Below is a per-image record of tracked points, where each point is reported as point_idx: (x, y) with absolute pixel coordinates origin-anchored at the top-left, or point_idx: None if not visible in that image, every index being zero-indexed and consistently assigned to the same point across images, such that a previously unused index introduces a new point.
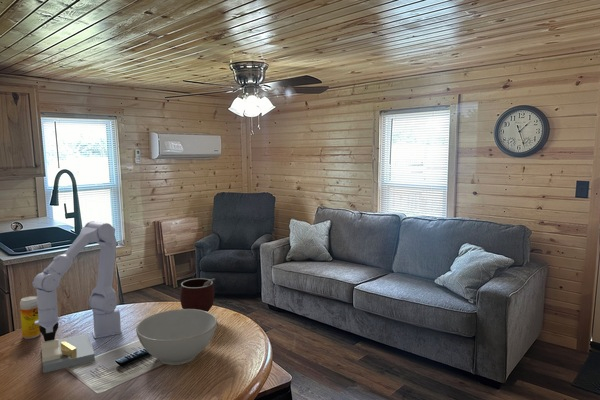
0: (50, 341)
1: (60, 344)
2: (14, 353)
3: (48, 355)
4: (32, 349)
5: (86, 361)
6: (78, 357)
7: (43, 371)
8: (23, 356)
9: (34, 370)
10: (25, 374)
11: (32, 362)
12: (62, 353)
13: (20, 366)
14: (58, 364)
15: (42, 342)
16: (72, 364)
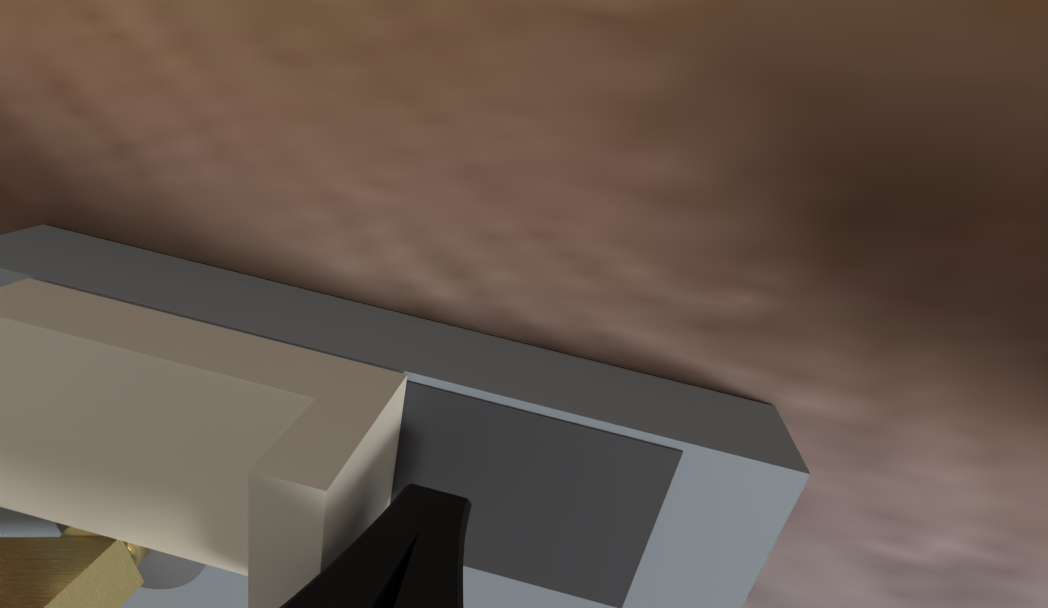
0: (256, 597)
1: (508, 603)
2: (1039, 53)
3: (6, 393)
4: (910, 319)
5: None
6: None
7: (26, 232)
8: (752, 151)
9: (165, 162)
10: (101, 39)
11: (427, 202)
12: (70, 527)
13: (401, 33)
14: None
15: (291, 499)
16: None
